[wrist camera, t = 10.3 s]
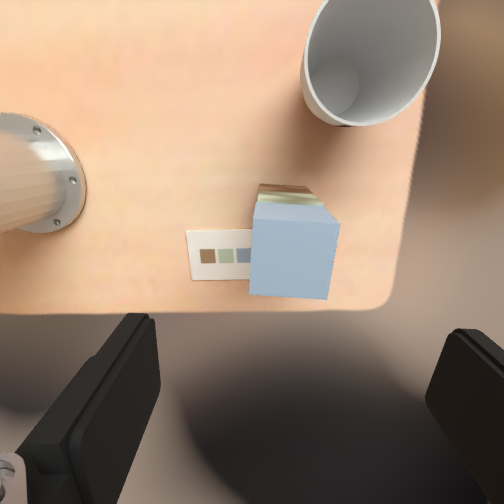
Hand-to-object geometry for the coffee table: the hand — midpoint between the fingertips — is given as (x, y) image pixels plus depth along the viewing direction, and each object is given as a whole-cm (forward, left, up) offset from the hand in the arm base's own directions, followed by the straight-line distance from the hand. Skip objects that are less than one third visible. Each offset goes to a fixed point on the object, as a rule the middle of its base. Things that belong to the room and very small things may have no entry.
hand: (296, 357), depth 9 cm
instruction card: (-5, -6, -23) cm, 25 cm away
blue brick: (+1, 0, -13) cm, 13 cm away
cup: (+5, +12, -23) cm, 27 cm away
